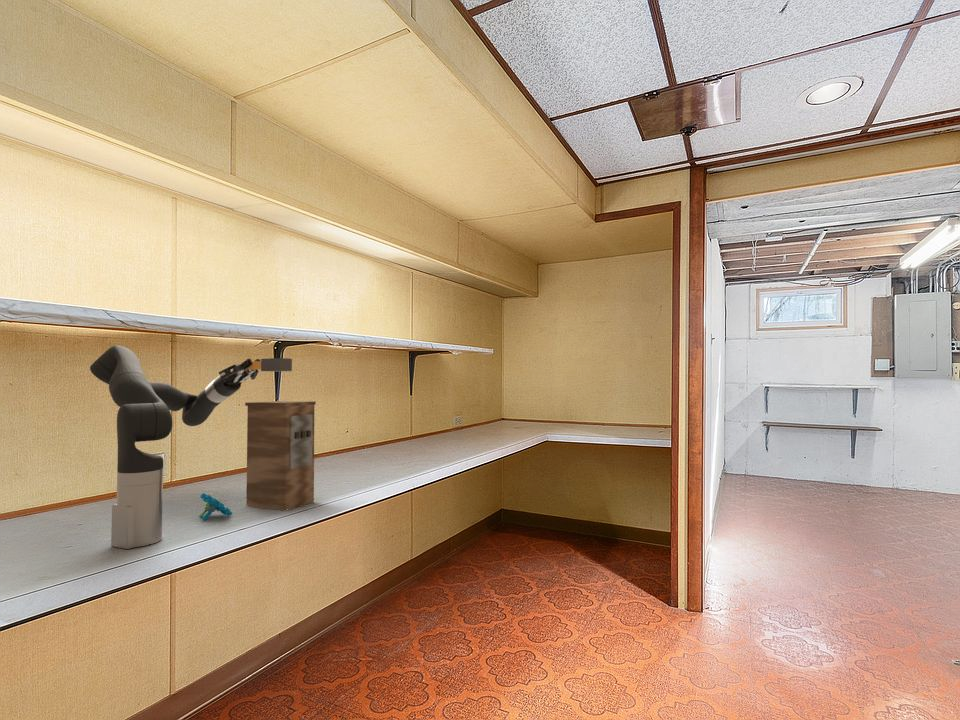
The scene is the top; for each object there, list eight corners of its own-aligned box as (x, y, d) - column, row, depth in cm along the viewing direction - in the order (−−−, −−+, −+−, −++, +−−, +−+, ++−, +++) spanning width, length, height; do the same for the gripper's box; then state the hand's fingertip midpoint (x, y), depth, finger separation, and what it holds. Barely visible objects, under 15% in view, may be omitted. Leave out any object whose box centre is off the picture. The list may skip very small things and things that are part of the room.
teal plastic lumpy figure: (238, 512, 140) (210, 491, 136) (223, 531, 137) (194, 509, 133) (225, 511, 148) (198, 490, 144) (210, 529, 144) (182, 508, 140)
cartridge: (279, 370, 156) (279, 358, 156) (238, 371, 163) (238, 359, 164) (291, 371, 161) (291, 358, 161) (251, 372, 168) (251, 360, 168)
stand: (287, 511, 147) (288, 403, 149) (243, 505, 155) (245, 402, 156) (318, 501, 159) (318, 401, 161) (276, 497, 166) (277, 401, 168)
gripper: (244, 396, 175) (276, 371, 169) (207, 397, 162) (241, 370, 157) (236, 378, 177) (268, 352, 171) (200, 377, 164) (233, 350, 158)
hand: (255, 361), depth 164 cm, fingers closed on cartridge, 3 cm apart
